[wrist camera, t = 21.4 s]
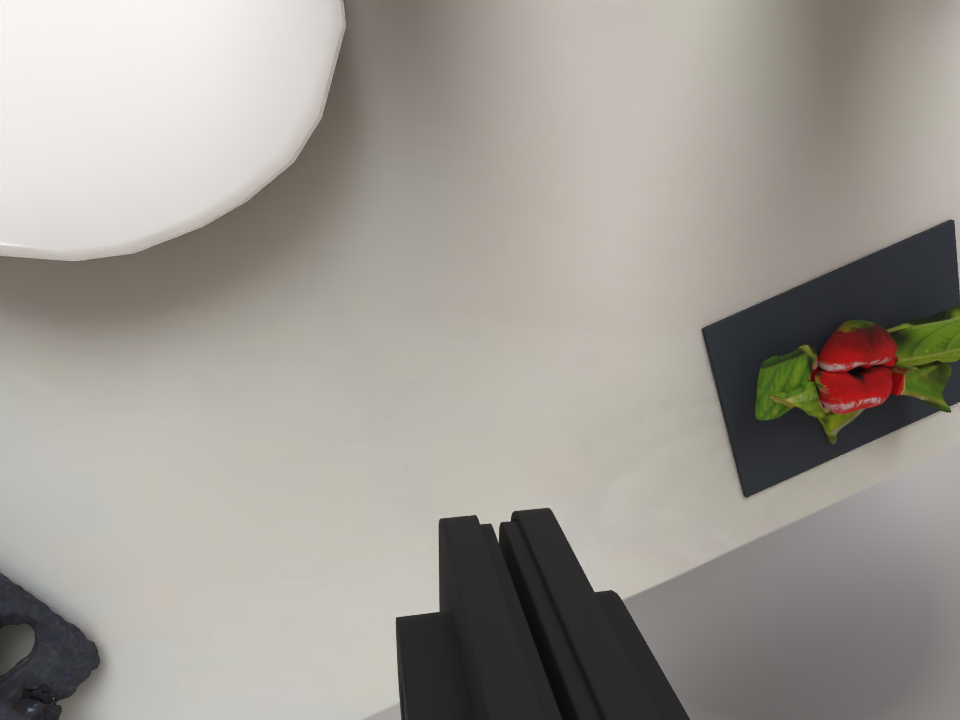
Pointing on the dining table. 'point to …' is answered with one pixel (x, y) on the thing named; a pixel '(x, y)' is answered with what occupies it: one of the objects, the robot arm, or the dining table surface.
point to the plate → (151, 114)
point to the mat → (811, 321)
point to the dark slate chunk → (42, 658)
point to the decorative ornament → (862, 370)
